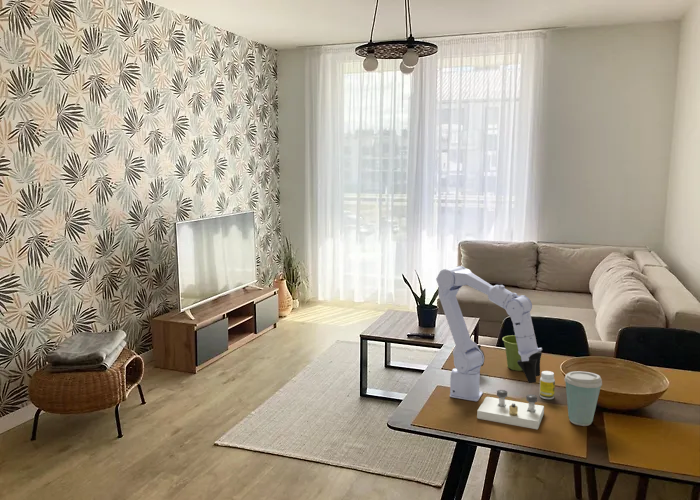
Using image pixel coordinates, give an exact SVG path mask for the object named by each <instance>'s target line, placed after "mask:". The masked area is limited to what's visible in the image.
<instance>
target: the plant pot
mask: <svg viewBox="0 0 700 500" xmlns="http://www.w3.org/2000/svg"><path fill="white" fill-rule="evenodd" d="M502 341H503V344H504V349H505V356H506V364H507V368H508V369H510V370H512V371H517V372H518V371H519V372H521V371H522V372H523V370H522V369H521V367H520V366H519V365H518V363H517V361H518V360H521V356H520V355H519V353H518V351H519V350H518V346H517V341H516V336H515V334H514V335H513V334H512V335H505V336H503V337H502Z"/></svg>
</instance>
